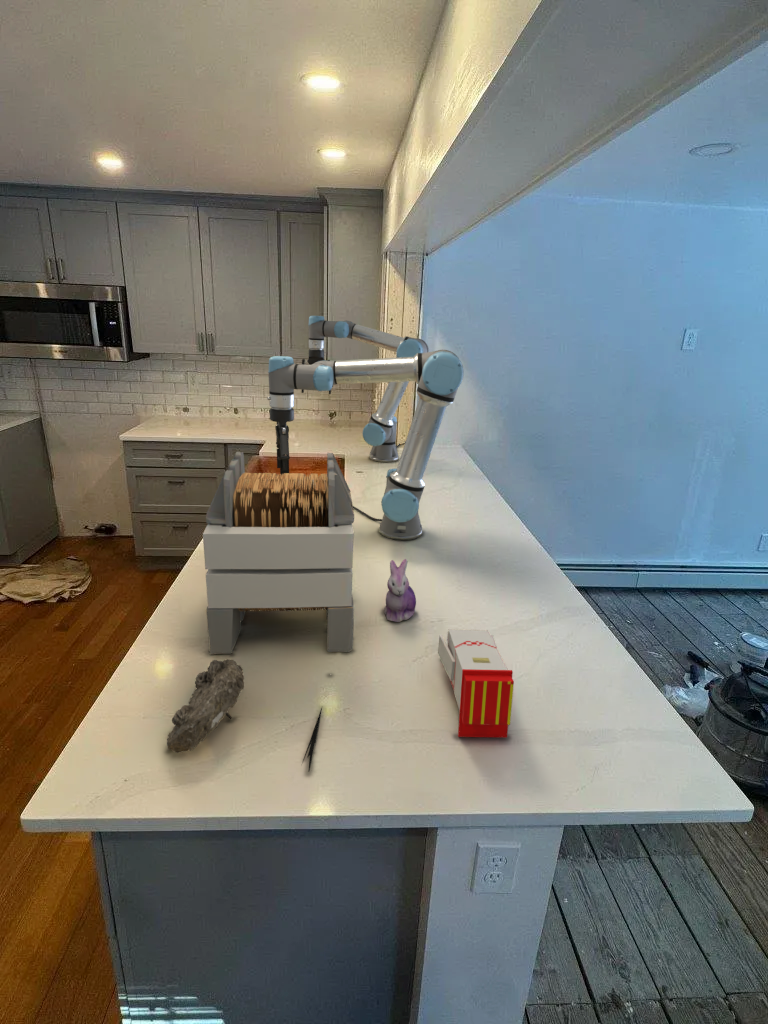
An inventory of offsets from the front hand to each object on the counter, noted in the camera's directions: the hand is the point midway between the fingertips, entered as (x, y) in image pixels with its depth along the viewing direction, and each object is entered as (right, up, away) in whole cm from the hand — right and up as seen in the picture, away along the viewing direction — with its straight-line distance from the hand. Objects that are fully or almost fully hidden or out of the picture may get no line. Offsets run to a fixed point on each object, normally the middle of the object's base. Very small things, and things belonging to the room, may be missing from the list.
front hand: (282, 473), depth 184 cm
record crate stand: (+8, -39, -40) cm, 56 cm away
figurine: (+37, -39, -36) cm, 65 cm away
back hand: (-1, +47, +100) cm, 111 cm away
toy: (+51, -50, -65) cm, 96 cm away
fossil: (0, -52, -76) cm, 91 cm away
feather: (+20, -52, -75) cm, 94 cm away
